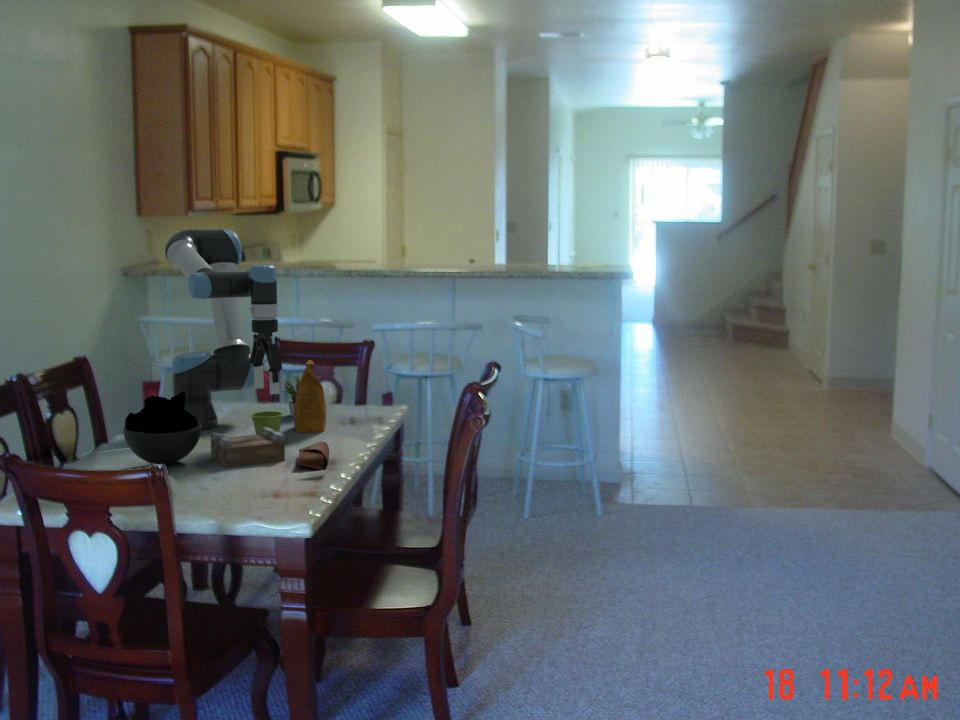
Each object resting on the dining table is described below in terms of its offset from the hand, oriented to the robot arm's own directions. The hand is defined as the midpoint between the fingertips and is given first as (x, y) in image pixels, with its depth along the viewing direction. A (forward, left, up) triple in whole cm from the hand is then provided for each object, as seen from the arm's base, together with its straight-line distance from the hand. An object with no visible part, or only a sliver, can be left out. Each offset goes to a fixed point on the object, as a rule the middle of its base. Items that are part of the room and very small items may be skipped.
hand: (266, 391), depth 296 cm
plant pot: (0, 0, -16) cm, 16 cm away
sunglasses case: (+31, 0, -16) cm, 35 cm away
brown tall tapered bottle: (-10, +17, -16) cm, 26 cm away
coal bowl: (+12, -33, -16) cm, 38 cm away
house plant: (-29, +23, -16) cm, 40 cm away
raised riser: (+18, -12, -15) cm, 26 cm away
